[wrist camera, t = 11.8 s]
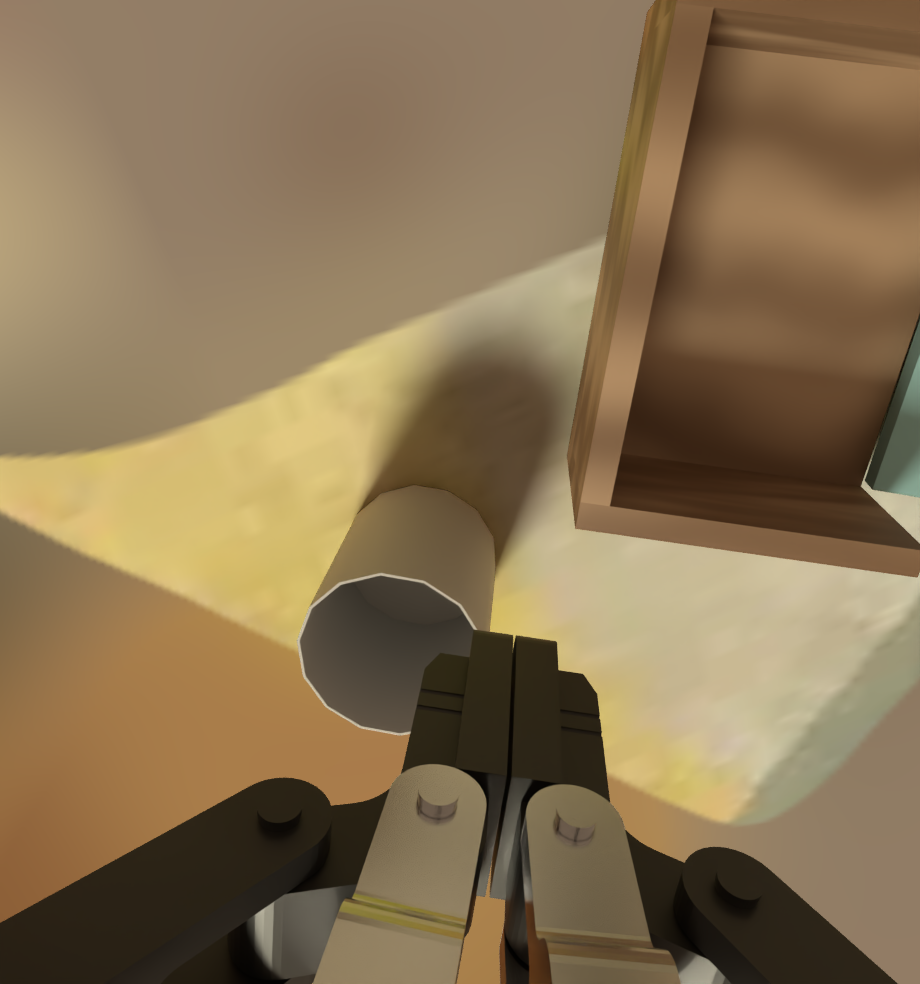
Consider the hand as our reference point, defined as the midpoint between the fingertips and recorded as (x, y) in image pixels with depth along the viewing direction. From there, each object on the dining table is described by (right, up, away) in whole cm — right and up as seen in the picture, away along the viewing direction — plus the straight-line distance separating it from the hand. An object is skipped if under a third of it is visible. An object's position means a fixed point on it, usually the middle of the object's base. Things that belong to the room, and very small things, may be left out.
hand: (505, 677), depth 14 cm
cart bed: (+13, +13, +23) cm, 29 cm away
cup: (-3, 0, +30) cm, 30 cm away
